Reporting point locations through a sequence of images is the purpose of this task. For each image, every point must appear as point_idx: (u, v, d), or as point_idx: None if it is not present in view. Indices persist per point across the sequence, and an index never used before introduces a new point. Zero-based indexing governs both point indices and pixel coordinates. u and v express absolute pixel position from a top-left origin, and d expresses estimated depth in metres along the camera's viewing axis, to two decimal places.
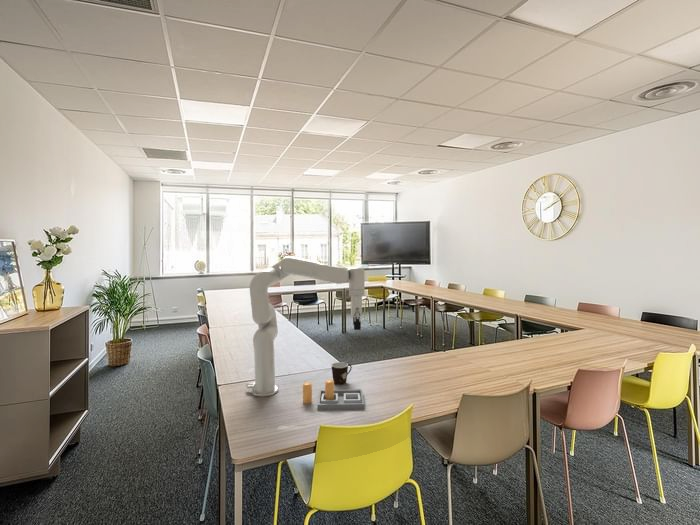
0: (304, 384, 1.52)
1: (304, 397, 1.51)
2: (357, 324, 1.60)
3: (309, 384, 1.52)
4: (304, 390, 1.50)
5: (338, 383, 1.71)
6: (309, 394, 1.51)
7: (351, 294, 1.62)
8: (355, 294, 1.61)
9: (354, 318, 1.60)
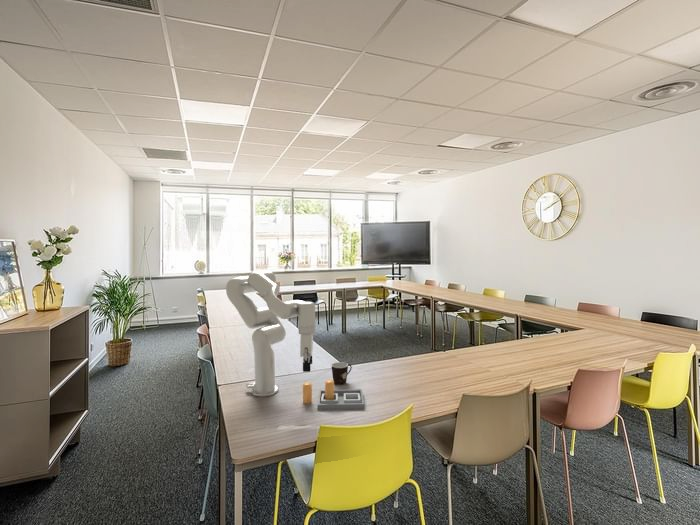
0: (304, 384, 1.52)
1: (304, 397, 1.51)
2: (306, 366, 1.45)
3: (309, 384, 1.52)
4: (304, 390, 1.50)
5: (338, 383, 1.71)
6: (309, 394, 1.51)
7: (300, 332, 1.48)
8: (304, 332, 1.47)
9: (303, 359, 1.46)
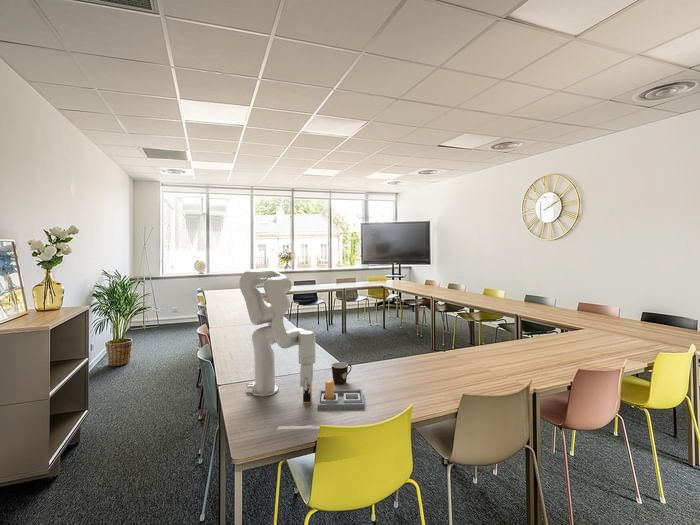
0: None
1: None
2: (306, 396, 1.49)
3: None
4: None
5: (338, 383, 1.71)
6: None
7: (300, 362, 1.49)
8: (304, 362, 1.48)
9: (303, 389, 1.49)
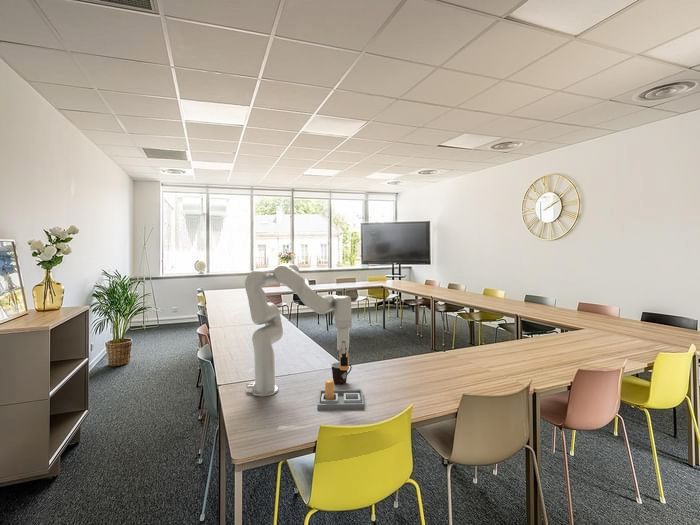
0: None
1: None
2: (344, 360, 1.48)
3: None
4: None
5: (338, 383, 1.71)
6: None
7: (337, 326, 1.49)
8: (341, 326, 1.48)
9: None
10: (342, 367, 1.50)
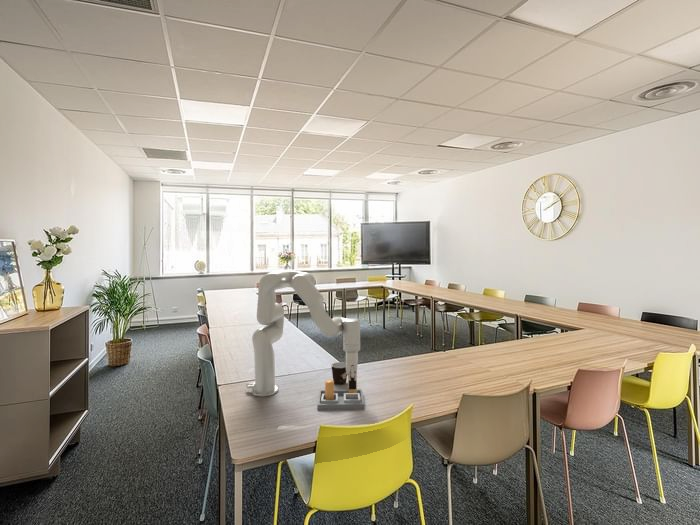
0: None
1: None
2: (352, 383, 1.49)
3: (354, 372, 1.52)
4: None
5: (338, 383, 1.71)
6: None
7: (346, 349, 1.49)
8: (350, 350, 1.48)
9: (349, 377, 1.49)
10: (350, 390, 1.51)
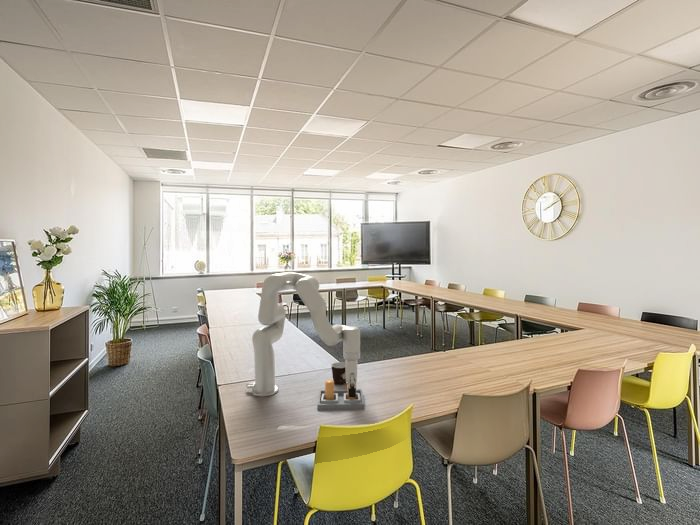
0: None
1: None
2: (352, 391, 1.47)
3: None
4: None
5: (338, 383, 1.71)
6: None
7: (345, 357, 1.49)
8: (350, 358, 1.48)
9: (349, 385, 1.48)
10: None
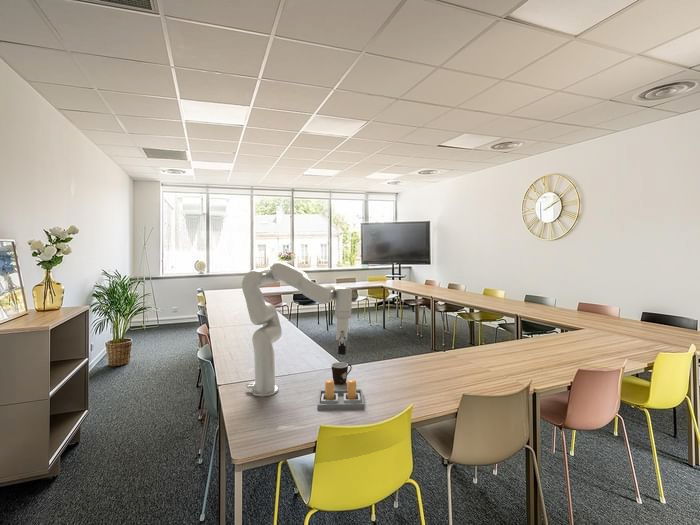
0: (349, 381, 1.52)
1: (349, 394, 1.51)
2: (342, 348, 1.50)
3: (354, 381, 1.52)
4: (349, 387, 1.51)
5: (338, 383, 1.71)
6: (354, 391, 1.51)
7: (337, 316, 1.52)
8: (341, 316, 1.51)
9: (339, 342, 1.50)
10: None
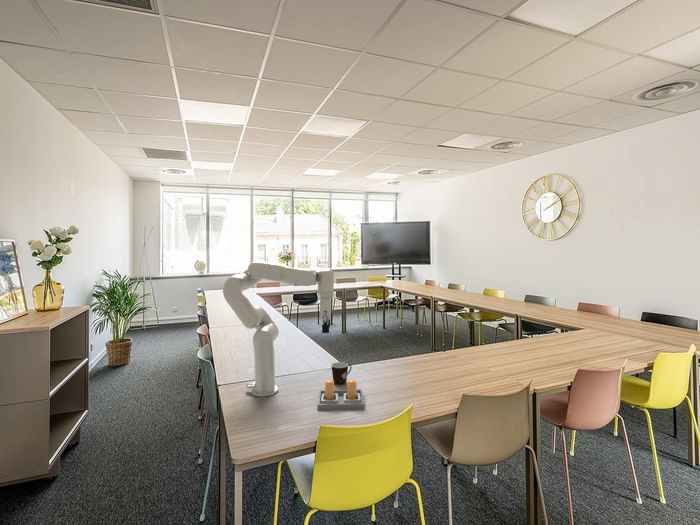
0: (349, 381, 1.52)
1: (349, 394, 1.51)
2: (325, 327, 1.57)
3: (354, 381, 1.52)
4: (349, 387, 1.51)
5: (338, 383, 1.71)
6: (354, 391, 1.51)
7: (319, 297, 1.60)
8: (323, 297, 1.59)
9: None
10: None
